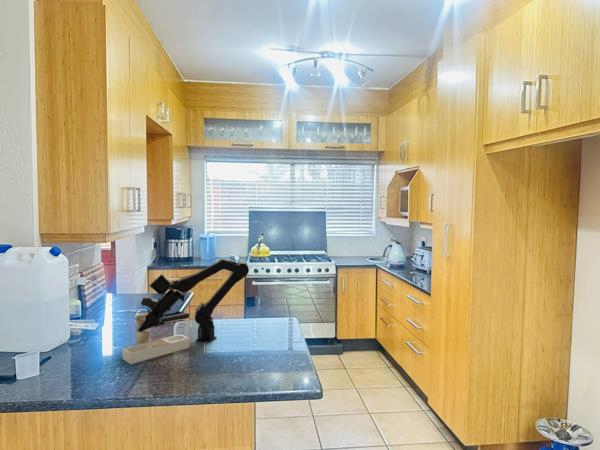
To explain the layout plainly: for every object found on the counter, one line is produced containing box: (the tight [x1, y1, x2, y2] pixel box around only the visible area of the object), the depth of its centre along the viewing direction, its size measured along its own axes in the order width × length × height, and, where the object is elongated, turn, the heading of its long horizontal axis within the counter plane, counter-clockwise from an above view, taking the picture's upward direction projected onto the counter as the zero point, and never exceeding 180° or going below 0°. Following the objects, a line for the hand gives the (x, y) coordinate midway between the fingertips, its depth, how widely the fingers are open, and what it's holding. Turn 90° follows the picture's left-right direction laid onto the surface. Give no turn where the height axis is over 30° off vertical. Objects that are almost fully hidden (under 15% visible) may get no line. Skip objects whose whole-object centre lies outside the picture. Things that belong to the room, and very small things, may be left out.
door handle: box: [159, 310, 191, 325], centre depth 204 cm, size 3×20×16 cm
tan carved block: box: [135, 312, 152, 345], centre depth 166 cm, size 5×4×13 cm
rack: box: [121, 333, 190, 365], centre depth 157 cm, size 24×7×4 cm, turn 136°
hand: (139, 329), depth 166 cm, fingers closed on tan carved block, 4 cm apart
